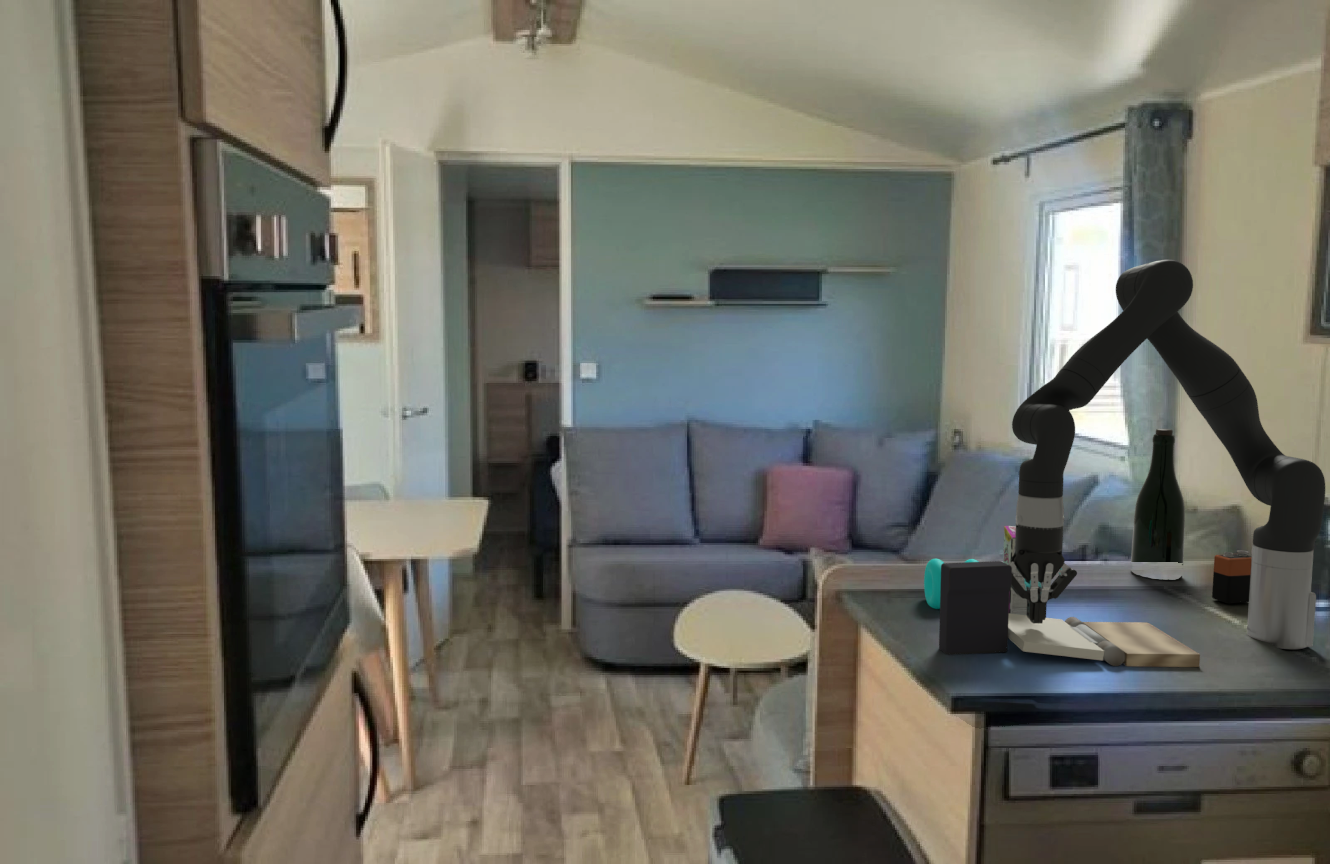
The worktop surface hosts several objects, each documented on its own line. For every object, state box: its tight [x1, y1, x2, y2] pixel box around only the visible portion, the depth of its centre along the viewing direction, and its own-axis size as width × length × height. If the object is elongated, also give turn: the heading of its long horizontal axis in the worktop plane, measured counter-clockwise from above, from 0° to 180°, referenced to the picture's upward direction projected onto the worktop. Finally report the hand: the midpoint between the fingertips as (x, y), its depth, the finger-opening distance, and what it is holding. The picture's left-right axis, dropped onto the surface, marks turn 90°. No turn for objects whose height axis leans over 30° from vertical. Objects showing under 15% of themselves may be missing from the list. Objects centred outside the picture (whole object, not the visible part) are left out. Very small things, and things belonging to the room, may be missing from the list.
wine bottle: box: [1130, 428, 1186, 564], centre depth 222 cm, size 10×10×33 cm
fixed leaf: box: [1064, 616, 1201, 668], centre depth 171 cm, size 15×18×3 cm
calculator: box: [938, 560, 1012, 656], centre depth 169 cm, size 11×4×15 cm, turn 99°
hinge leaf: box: [1008, 613, 1107, 661], centre depth 171 cm, size 16×18×3 cm
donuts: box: [923, 558, 980, 610], centre depth 195 cm, size 10×10×10 cm
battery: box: [1211, 550, 1252, 604], centre depth 204 cm, size 4×7×10 cm, turn 104°
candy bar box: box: [1002, 525, 1027, 615], centre depth 191 cm, size 11×5×16 cm, turn 168°
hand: (1035, 622), depth 171 cm, fingers closed
